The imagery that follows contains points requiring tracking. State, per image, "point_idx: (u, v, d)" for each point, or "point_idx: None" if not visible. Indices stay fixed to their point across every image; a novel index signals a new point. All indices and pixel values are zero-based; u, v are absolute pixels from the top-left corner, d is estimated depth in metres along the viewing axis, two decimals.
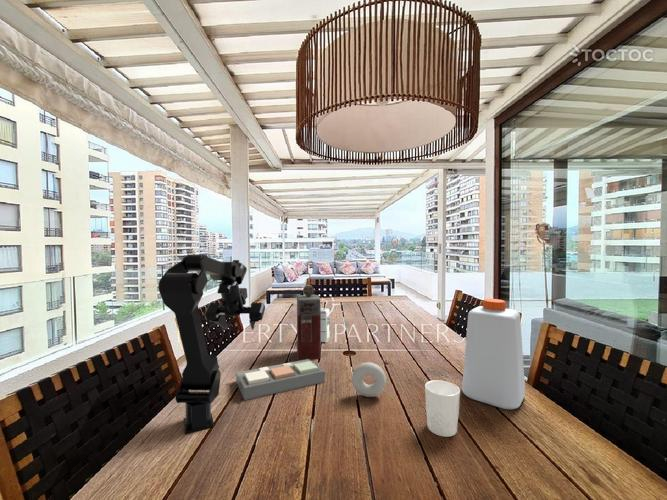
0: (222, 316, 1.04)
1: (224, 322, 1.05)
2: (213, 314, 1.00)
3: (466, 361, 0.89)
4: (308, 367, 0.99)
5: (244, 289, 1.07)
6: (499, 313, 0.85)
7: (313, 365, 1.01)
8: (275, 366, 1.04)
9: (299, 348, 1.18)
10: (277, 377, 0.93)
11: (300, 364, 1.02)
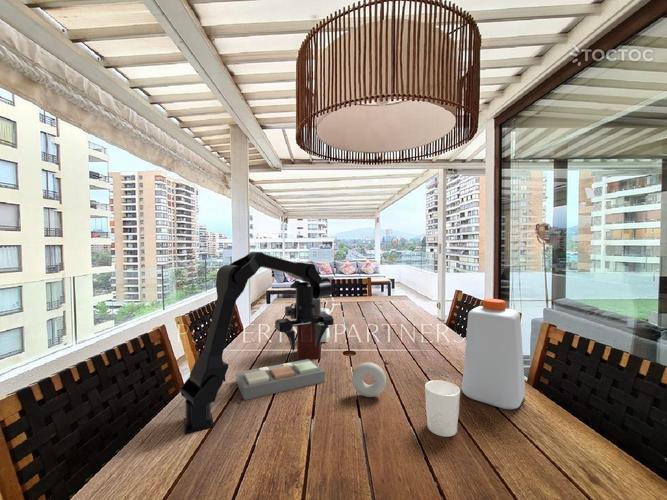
0: None
1: None
2: (289, 323, 0.96)
3: (466, 361, 0.89)
4: (308, 367, 0.99)
5: None
6: (499, 313, 0.85)
7: (313, 365, 1.01)
8: (275, 366, 1.04)
9: (299, 348, 1.18)
10: (277, 377, 0.93)
11: (300, 364, 1.02)
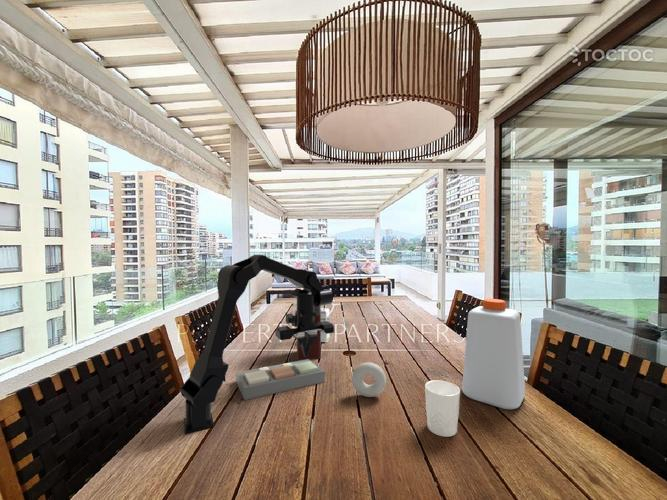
0: None
1: None
2: (290, 331, 0.95)
3: (466, 361, 0.89)
4: (308, 367, 0.99)
5: None
6: (499, 313, 0.85)
7: (313, 365, 1.01)
8: (275, 366, 1.04)
9: (299, 348, 1.18)
10: (277, 377, 0.93)
11: (300, 364, 1.02)
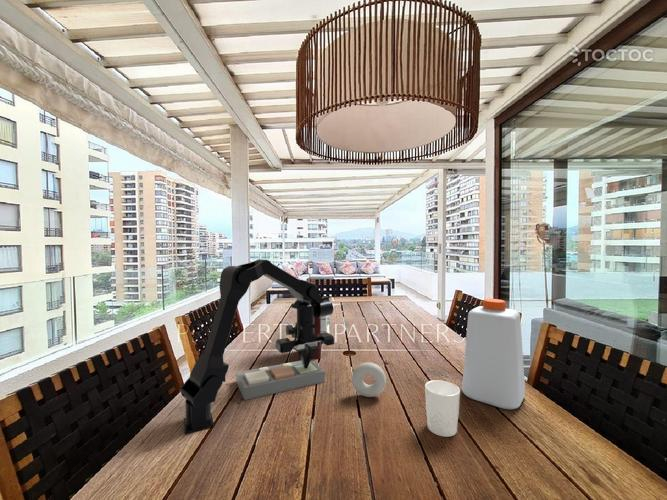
0: None
1: None
2: (290, 343, 0.95)
3: (466, 361, 0.89)
4: (308, 369, 0.99)
5: None
6: (499, 313, 0.85)
7: (313, 367, 1.01)
8: (275, 366, 1.04)
9: None
10: (277, 377, 0.93)
11: (300, 366, 1.02)
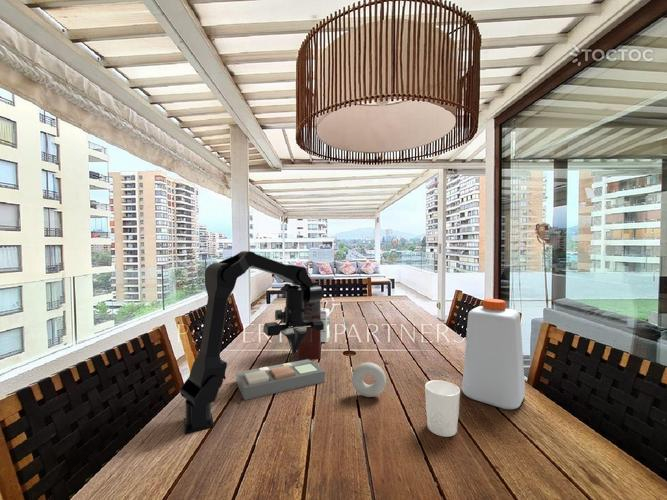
0: None
1: None
2: (278, 327, 0.94)
3: (466, 361, 0.89)
4: (308, 370, 0.99)
5: None
6: (499, 313, 0.85)
7: (313, 368, 1.01)
8: (275, 366, 1.04)
9: (299, 348, 1.18)
10: (277, 377, 0.93)
11: (300, 367, 1.02)
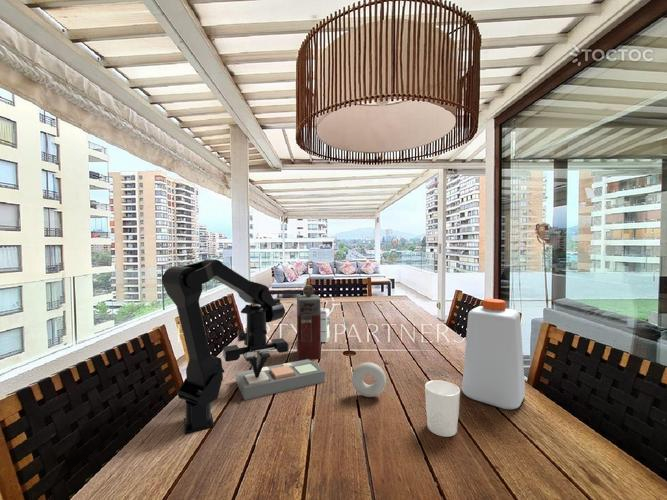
0: None
1: None
2: (237, 351, 0.88)
3: (466, 361, 0.89)
4: (308, 370, 0.99)
5: None
6: (499, 313, 0.85)
7: (313, 368, 1.01)
8: (275, 366, 1.04)
9: (299, 348, 1.18)
10: (277, 377, 0.93)
11: (300, 367, 1.02)
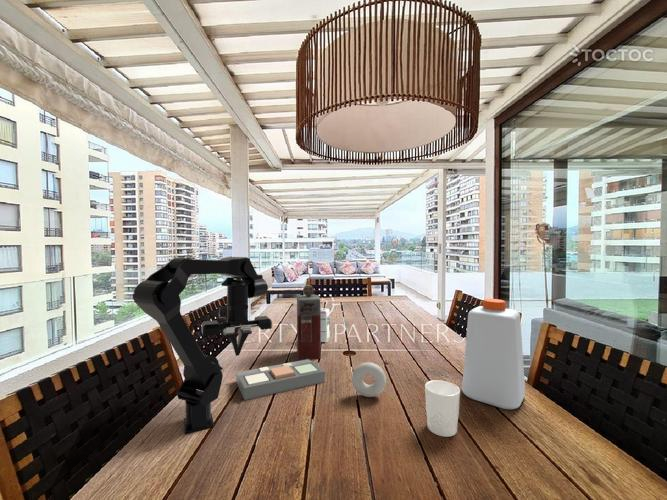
0: None
1: None
2: (215, 326, 0.83)
3: (466, 361, 0.89)
4: (308, 370, 0.99)
5: None
6: (499, 313, 0.85)
7: (313, 368, 1.01)
8: (275, 366, 1.04)
9: (299, 348, 1.18)
10: (277, 377, 0.93)
11: (300, 367, 1.02)
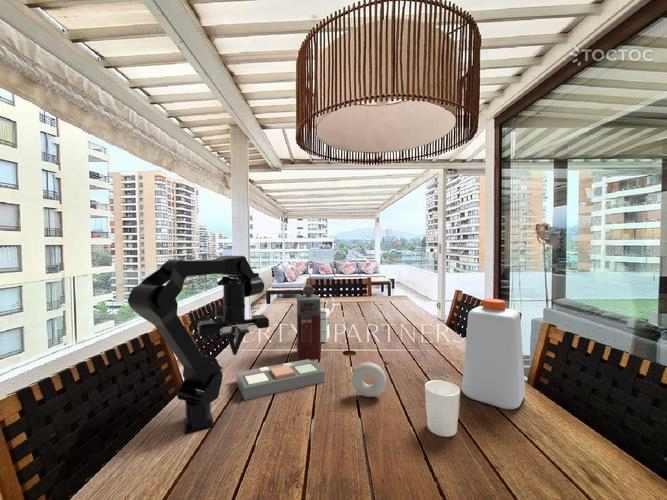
0: None
1: None
2: (211, 325, 0.82)
3: (466, 361, 0.89)
4: (308, 370, 0.99)
5: None
6: (499, 313, 0.85)
7: (313, 368, 1.01)
8: (275, 366, 1.04)
9: (299, 348, 1.18)
10: (277, 377, 0.93)
11: (300, 367, 1.02)
